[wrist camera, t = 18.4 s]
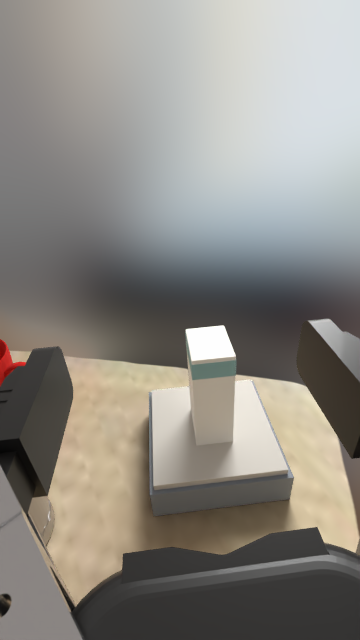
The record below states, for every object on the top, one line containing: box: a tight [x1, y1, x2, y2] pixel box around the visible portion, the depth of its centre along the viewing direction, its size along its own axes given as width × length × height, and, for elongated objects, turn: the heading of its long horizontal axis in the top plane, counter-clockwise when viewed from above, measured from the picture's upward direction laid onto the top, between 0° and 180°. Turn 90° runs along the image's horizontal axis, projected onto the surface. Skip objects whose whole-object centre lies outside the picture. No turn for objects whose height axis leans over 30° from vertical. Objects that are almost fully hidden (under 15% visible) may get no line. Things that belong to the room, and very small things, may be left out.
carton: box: [185, 326, 236, 446], centre depth 38 cm, size 5×6×13 cm
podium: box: [149, 380, 294, 516], centre depth 43 cm, size 16×16×5 cm
